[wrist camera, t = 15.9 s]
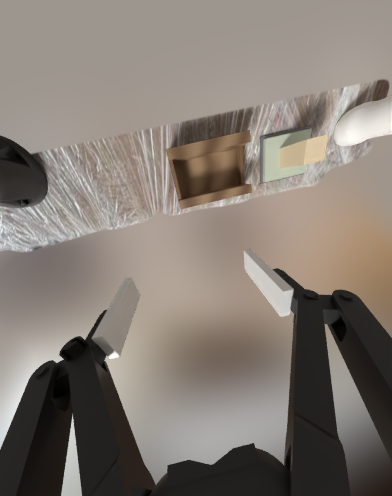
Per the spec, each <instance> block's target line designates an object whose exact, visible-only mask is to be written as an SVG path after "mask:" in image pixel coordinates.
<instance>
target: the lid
mask: <svg viewBox="0 0 392 496" xmlns="http://www.w3.org/2000/svg"><path fill="white" fill-rule="evenodd" d="M311 131H312V128H311V129H306V130H302V131H298V132H293V133H289V134H284V135H280V136H276V137H271V138H267V139H264V140H263V182H268V181H273V180H277V179H281V178H286V177H290V176H294V175H299V174H303V173H306V168H307V164H309V163H314V162H318V161H322V160H324V155H325V149H326V144H327V138H328V135H325V136H320V137H316V138H311Z"/></svg>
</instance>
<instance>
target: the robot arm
mask: <svg viewBox="0 0 392 496" xmlns="http://www.w3.org/2000/svg"><path fill="white" fill-rule="evenodd" d="M46 193H47V181H46V177H45V175H44V172H43V170H42V169H41V167H40V165H39V164H38V162H37V161H36V160H35V159H34V157H33V156H32V155H31V154H30V153H29V152H28V151H26V150H25V149H24V148H23V147H21V146H20V145H19V144H17V143H15V142H14V141H12V140H10V139H8V138H5V137H3V136H0V206H2V207H10V208H24V207H30V206H34V205H37V204H39V203H40V202H41V201H42V200H43V199H44V198H45V196H46ZM244 264H245V270H246V272H247V273H248V275H249V276H250V277H251V279H252V280H253V281H254V282H255V284H256V285H257V286H258V288H259V289H260V290H261V292H262V293H263V294H264V296H265V297H266V298H267V300H268V301H269V302H270V304H271V305H272V306H273V308H274V309H275V310H276V311H277V313H278V314H279V315H280V317H283V316H287V315H290V310H291V311H292V312H293V313H294V319H293V323H294V324H293V341H292V357H291V373H290V390H289V406H288V423H287V434H286V443H285V458H284V465H283V464H282V463H281V462H280V461H279V460H278V459H276V458H275V457H274V456H273V455H271V454H269V453H268V452H266V451H263V450H260V449H257V448H255V445H254V443H252V444H249V445H245V446H241V447H237V448H233V449H232V450H231V451H229V452H228V453H227V454H226V455H224V456H223V457H222V458H221V459H220V460H218V461H217V462H216V463H215V464H213V465H209V464H204V463H200V462H196V461H191V460H187V461H183V462H179V463H175V464H171V465H168V469H167V473H166V474H165V475H164V476H163V477H162V478H161V480H160V481H159V482H158V483H157V485H155V482H154V480H153V478H152V476H151V474H150V472H149V471H148V469H147V468H146V466H145V464H144V462H143V459H142V457H141V454H140V452H139V449H138V446H137V444H136V441H135V438H134V435H133V433H132V430H131V427H130V425H129V422H128V420H127V417H126V414H125V411H124V409H123V406H122V403H121V401H120V398H119V395H118V393H117V390H116V387H115V385H114V382H113V379H112V377H111V374H110V371H109V369H108V366H107V363H106V362H105V361H104V360H105V358H106V355H107V356H108V357H109V358H110V359H112V358H116V357H120V355H121V352H122V348H123V346H124V342H125V340H126V336H127V334H128V330H129V328H130V325H131V322H132V318H133V316H134V313H135V310H136V307H137V304H138V301H139V298H140V293H139V291H138V289H137V287H136V285H135V283H134V281H133V280H132V278H127V279H124V281H123V283H122V285H121V286H120V288H119V290H118V292H117V294H116V295H115V297H114V299H113V301H112V303H111V304H110V306H109V308H108V310H105V311H103V313H102V314H101V315H100V316H99V317H98V319H97V321H96V323H95V324H94V327H93V328H92V329H91V331H90V333H89V334H88V336H87V338H86V339H85V340H84V339H83V338H82V337H80V336H78V337H75V338H73V339H71V340H70V341H69V342H67V343H66V344H65V345H64V346H63V348H62V349H61V351H60V354H59V355H60V356H61V357H62V358H63V359H64V360H62V361H60V362H58V363H56V362H54V361H53V360H52V361H48V362H46V363H44V364H43V365H41V366H40V367H39V368H38V369H37V370H36V371H35V372H34V373H33V374H32V376H31V377H30V379H29V381H28V384H27V386H26V388H25V391H24V393H23V396H22V398H21V401H20V403H19V405H18V408H17V410H16V413H15V415H14V417H13V420H12V422H11V425H10V427H9V430H8V432H7V435H6V437H5V440H4V442H3V444H2V447H1V449H0V496H61V491H62V484H63V477H64V470H65V463H66V456H67V449H68V442H69V435H70V428H71V421H72V414H73V419H74V428H75V436H76V445H77V454H78V463H79V471H80V480H81V488H82V496H350V488H349V481H348V474H347V466H346V460H345V454H344V450H343V446H342V444H341V442H340V440H339V437H338V433H337V426H336V417H335V409H334V401H333V392H332V384H331V376H330V367H329V359H328V350H327V342H326V334H325V325H324V324H327V325H328V327H329V329H330V331H331V333H332V335H333V337H334V340H335V342H336V344H337V346H338V348H339V350H340V352H341V355H342V357H343V359H344V361H345V363H346V365H347V367H348V369H349V372H350V374H351V376H352V378H353V380H354V382H355V384H356V387H357V389H358V391H359V393H360V395H361V397H362V399H363V402H364V404H365V406H366V408H367V410H368V412H369V414H370V416H371V419H372V421H373V423H374V425H375V427H376V429H377V431H378V434H379V436H380V438H381V440H382V442H383V444H384V446H385V448H386V451H387V453H388V455H389V457H390V459H391V461H392V338H391V337H390V335H389V334H388V333H387V332H386V330H385V329H384V328H383V327H382V325H381V324H380V323H379V322H378V321H377V319H376V318H375V317H374V316H373V314H372V313H371V312H370V311H369V309H368V308H367V307H366V306H365V304H364V303H363V302H362V301H361V299H360V298H359V297H358V296H357V295H355V294H353V293H351V292H349V291H346V290H335V291H334V292H333V293H332V295H318V294H317V293H316V292H314V291H311V290H306V289H304V288H303V287H302V286H300V285H299V284H298V283H297V282H296V281H295V280H293V279H292V278H291V277H290V276H288V275H287V274H286V273H285V272H284V271H282V270H280V269H278V268H277V269H271V268H270V267H269V266H268V265H267V264H266V263H265V262H264V261H263V260H262V259H261V258H259V257H258V256H257V255H256V254H255V253H254V252H253V251H252V250H251V249H247V250H244Z"/></svg>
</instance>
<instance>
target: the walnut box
mask: <svg viewBox="0 0 392 496" xmlns="http://www.w3.org/2000/svg"><path fill="white" fill-rule="evenodd" d="M248 142H250V130H248V131H244V132H239V133H235V134H230V135H226V136H222V137H217V138H213V139H208V140H204V141H200V142H195V143H191V144H186V145H182V146H178V147H173V148H169V149H166V152H167V156H168V160H169V164H170V168H171V172H172V176H173V180H174V184H175V188H176V192H177V196H178V200H179V204H180V208H181V209H184V208H188V207H192V206H196V205H201V204H205V203H209V202H214V201H218V200H222V199H226V198H231V197H235V196H239V195H244V194H248V193H252V192H251V184H244V163H243V146H244V145H245V144H246V143H248Z"/></svg>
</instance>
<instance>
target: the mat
mask: <svg viewBox="0 0 392 496" xmlns="http://www.w3.org/2000/svg"><path fill="white" fill-rule="evenodd" d="M306 129H310V126H307V127H302V128H298V129H294V130H289V131H285V132H280V133H276V134H272V135H267V136H263V137H260V184H262V183H267V182H263V140H264V139H267V138H271V137H276V136H280V135H284V134H289V133H293V132H298V131H302V130H306ZM303 174H304V173H303ZM299 175H301V174H299ZM294 176H297V175H294ZM290 177H292V176H290ZM286 178H288V177H286ZM281 179H284V178H281ZM277 180H279V179H277ZM273 181H275V180H273ZM268 182H271V181H268Z"/></svg>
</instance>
